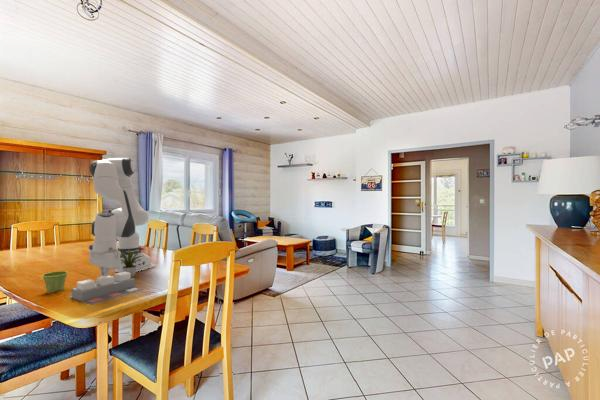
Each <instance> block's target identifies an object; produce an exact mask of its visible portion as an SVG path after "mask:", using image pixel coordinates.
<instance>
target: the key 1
mask: <svg viewBox="0 0 600 400" xmlns="http://www.w3.org/2000/svg"><path fill="white" fill-rule="evenodd" d="M95 283H96V280H93V279H90V278H89V279H84V280H80V281H76V288H77V290H80V291H85V290H89V289H93V288H95Z"/></svg>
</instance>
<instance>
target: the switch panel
mask: <svg viewBox="0 0 600 400" xmlns="http://www.w3.org/2000/svg"><path fill="white" fill-rule="evenodd" d="M143 290H144V291H145V289H143V288H141V287H136V278H132V277H131V279H129V280H125V281H121V282H119V281H116V280H115V278H114V283H113V284H109V285H105V286H100V285H97V282H95V288H93V289H89V290H85V291H80V290H77V287H73V288H71V295H67V297H68V298H71V299H73V300H76V301H79V302H82V303H85V304H87V305H89V306H93V305H96V304H99V303H103V302H106V301H110V300H114V299H117V298H120V297H123V296H127V295H131V294H135V293H137V292H140V291H143Z"/></svg>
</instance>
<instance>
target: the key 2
mask: <svg viewBox="0 0 600 400" xmlns="http://www.w3.org/2000/svg"><path fill="white" fill-rule="evenodd" d="M131 278H132V276H131V273H129V272H115V273H114V279H115V280H116V281H119V282H121V281H125V280H129V279H131Z"/></svg>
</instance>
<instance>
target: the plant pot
mask: <svg viewBox="0 0 600 400" xmlns="http://www.w3.org/2000/svg"><path fill="white" fill-rule="evenodd" d="M68 273H69V272H68V271H66V270H65V271H64V270H60V271H51V272H47V273H43V274H42V275H41V276H42V278H43V281H44V285H45V289H46V293H47V294H51V293H55V292H60V291H64V289H65V284H66V277H67V275H68Z"/></svg>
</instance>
